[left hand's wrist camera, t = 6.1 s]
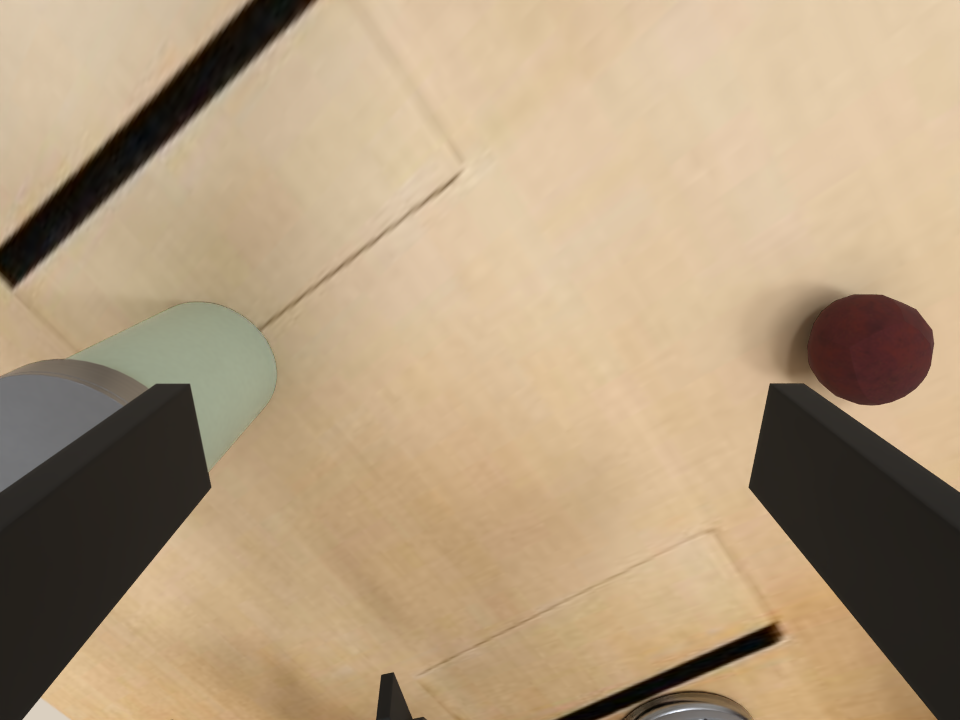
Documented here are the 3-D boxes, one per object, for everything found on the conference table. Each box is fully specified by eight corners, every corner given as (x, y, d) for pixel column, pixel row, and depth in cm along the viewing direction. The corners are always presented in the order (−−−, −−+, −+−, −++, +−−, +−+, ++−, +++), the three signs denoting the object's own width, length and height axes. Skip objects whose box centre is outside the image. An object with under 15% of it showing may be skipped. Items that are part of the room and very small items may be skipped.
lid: (240, 451, 29) (222, 473, 27) (132, 577, 32) (109, 604, 30) (41, 313, 26) (6, 325, 24) (-56, 463, 29) (-96, 486, 27)
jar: (303, 361, 42) (210, 469, 27) (229, 448, 44) (109, 587, 30) (188, 273, 39) (20, 340, 25) (118, 370, 42) (-71, 480, 28)
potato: (809, 396, 43) (869, 440, 36) (770, 317, 40) (827, 348, 34) (901, 347, 41) (981, 383, 35) (866, 262, 39) (945, 284, 32)
